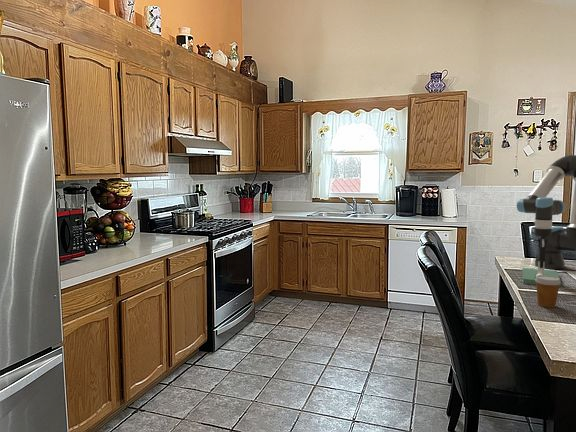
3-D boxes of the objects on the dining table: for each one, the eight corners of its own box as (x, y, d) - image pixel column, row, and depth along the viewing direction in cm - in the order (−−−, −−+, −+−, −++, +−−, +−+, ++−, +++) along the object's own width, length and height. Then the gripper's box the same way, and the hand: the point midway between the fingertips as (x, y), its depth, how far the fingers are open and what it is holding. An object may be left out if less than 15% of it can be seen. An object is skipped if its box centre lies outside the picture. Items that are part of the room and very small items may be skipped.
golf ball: (538, 281, 224) (539, 273, 224) (546, 281, 220) (546, 274, 221) (533, 280, 222) (534, 272, 223) (541, 281, 219) (541, 273, 219)
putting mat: (522, 272, 241) (522, 268, 241) (556, 275, 234) (556, 270, 234) (523, 283, 218) (523, 278, 218) (560, 287, 211) (561, 282, 211)
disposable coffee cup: (563, 309, 179) (565, 280, 178) (538, 308, 181) (539, 280, 180) (554, 302, 188) (555, 275, 187) (530, 301, 190) (531, 274, 189)
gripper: (534, 226, 229) (532, 270, 231) (535, 229, 217) (533, 275, 220) (550, 226, 225) (548, 271, 228) (552, 230, 214) (550, 277, 216)
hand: (540, 273), depth 224 cm, fingers closed
